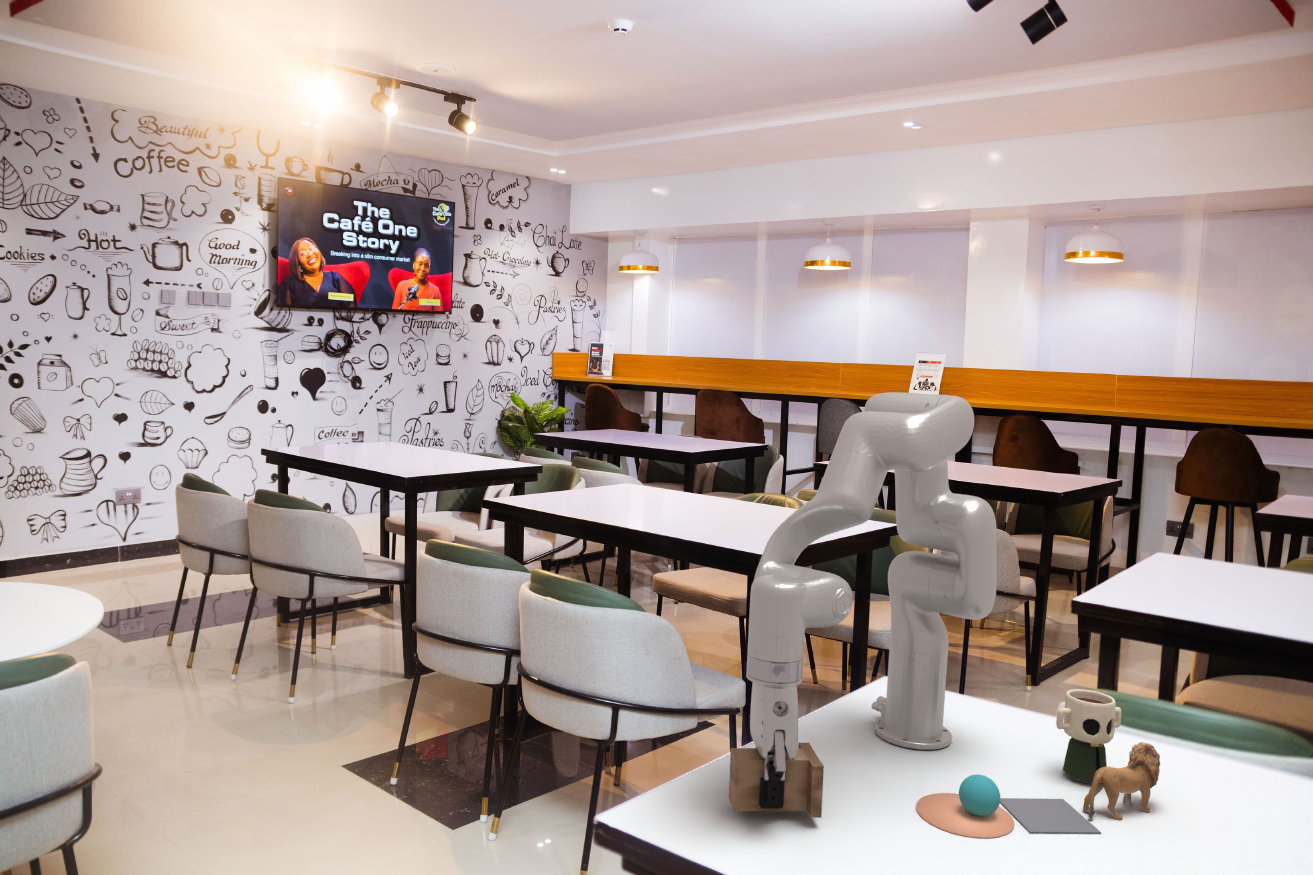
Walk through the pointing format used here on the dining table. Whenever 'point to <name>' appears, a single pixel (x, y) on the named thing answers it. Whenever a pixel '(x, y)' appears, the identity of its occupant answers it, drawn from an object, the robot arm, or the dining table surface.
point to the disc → (962, 817)
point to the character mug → (1087, 731)
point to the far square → (1048, 816)
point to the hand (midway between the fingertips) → (767, 797)
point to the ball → (979, 795)
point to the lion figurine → (1126, 780)
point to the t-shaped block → (799, 781)
